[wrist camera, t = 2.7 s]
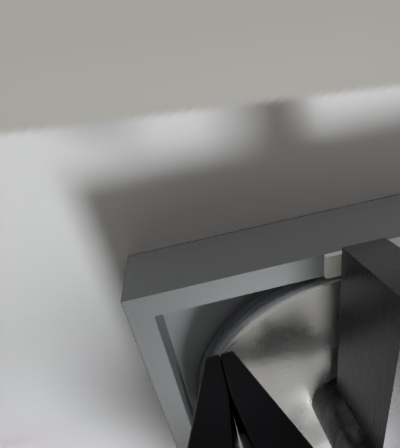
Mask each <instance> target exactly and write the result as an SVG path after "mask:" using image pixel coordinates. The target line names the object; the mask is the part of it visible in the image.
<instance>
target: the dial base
mask: <svg viewBox="0 0 400 448" xmlns="http://www.w3.org/2000/svg"><path fill="white" fill-rule="evenodd" d="M380 238H386V239H388V240H389V241H391V242H392V243H394V244H395V245H397V246H399V247H400V194H399V195H394V196H390V197H386V198H381V199H377V200H373V201H368V202H364V203H359V204H355V205H351V206H346V207H342V208H337V209H333V210H329V211H324V212H320V213H316V214H311V215H307V216H302V217H298V218H294V219H289V220H285V221H281V222H276V223H272V224H267V225H263V226H259V227H254V228H250V229H245V230H241V231H237V232H232V233H228V234H224V235H219V236H215V237H210V238H206V239H202V240H197V241H193V242H189V243H184V244H180V245H175V246H171V247H167V248H162V249H158V250H153V251H149V252H145V253H140V254H136V255H132V256H128V262H127V268H126V274H125V280H124V286H123V292H122V298H121V304H122V307H123V309H124V312H125V315H126V317H127V320H128V322H129V325H130V328H131V330H132V333H133V335H134V338H135V340H136V343H137V346H138V348H139V351H140V353H141V356H142V358H143V361H144V364H145V366H146V369H147V371H148V374H149V377H150V379H151V382H152V384H153V387H154V389H155V392H156V395H157V397H158V400H159V402H160V405H161V407H162V410H163V413H164V415H165V418H166V420H167V423H168V426H169V428H170V431H171V433H172V436H173V438H174V441H175V444H176V446H177V448H187V446H188V441H189V436H190V432H191V427H192V422H193V417H194V413H195V408H196V403H197V398H198V394H197V381H198V375H199V370H200V365H201V363H202V360H203V358H204V355H205V352H206V350H207V349H208V347H209V345H210V343H211V342H212V340H213V338H214V337H215V335H216V334H217V333H218V331H219V330H220V329H221V327H222V326H223V325H224V323H225V322H226V321H227V320H228V319H229V318H230V317H231V316H232V315H233V314H234V313H235V312H236V311H237V310H238V309H239V308H240V307H241V306H243V305H244V304H245V303H246V302H247V301H249V300H250V299H251V298H252V297H253V296H255V295H256V294H258V293H259V292H261V291H263V290H267V289H271V288H275V287H280V286H284V285H288V284H292V283H296V282H301V281H305V280H309V279H313V278H317V277H321V276H324V277H325V278H326V279H328V278H332V277H337V276H341V264H342V247H346V246H351V245H355V244H359V243H363V242H368V241H372V240H376V239H380Z"/></svg>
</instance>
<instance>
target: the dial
mask: <svg viewBox="0 0 400 448" xmlns="http://www.w3.org/2000/svg"><path fill="white" fill-rule="evenodd" d="M229 351H233V352H234V353H235V354H236V355H237V356H238V358H239V359H240V360H241V361H242V362H243V364H244V365H245V366H246V367H247V368H248V370H249V371H250V372H251V373H252V374H253V376H254V377H255V378H256V379H257V380H258V382H259V383H260V384H261V385H262V386H263V388H264V389H265V390H266V391H267V392H268V394H269V395H270V396H271V397H272V398H273V400H274V401H275V402H276V403H277V404H278V406H279V407H280V408H281V409H282V410H283V412H284V413H285V414H286V415H287V416H288V418H289V419H290V420H291V421H292V422H293V424H294V425H295V426H296V427H297V428H298V430H299V431H300V432H301V433H302V434H303V436H304V437H305V438H306V439H307V440H308V442H309V443H310V444H311V445H312V446H313V448H400V247H399V246H397V245H395V244H394V243H392V242H391V241H389V240H388V239H386V238H380V239H376V240H372V241H368V242H363V243H359V244H355V245H351V246H346V247H342V264H341V276H337V277H332V278H328V279H326V278H325V277H324V276H321V277H317V278H313V279H309V280H305V281H301V282H296V283H292V284H288V285H284V286H280V287H275V288H271V289H267V290H263V291H261V292H259V293H258V294H256V295H255V296H253V297H252V298H251V299H250V300H249V301H247V302H246V303H245V304H244V305H243V306H241V307H240V308H239V309H238V310H237V311H236V312H235V313H234V314H233V315H232V316H231V317H230V318H229V319H228V320H227V321H226V322H225V323H224V325H223V326H222V327H221V329H220V330H219V331H218V333H217V334H216V335H215V337H214V338H213V340H212V342H211V343H210V345H209V347H208V349H207V350H206V352H205V355H204V358H203V360H202V363H201V365H200V370H199V375H198V381H197V394H199V389H200V384H201V379H202V375H203V370H204V365H205V360H206V358H207V357H209V356H213V355H219V356H220V355H221V354H222V353H225V352H229ZM220 359H221V358H220ZM235 424H236V423H235ZM236 429H237V427H236ZM237 433H238V431H237ZM238 440H239V447H240V448H243V447H242V444H241V441H240V438H239V434H238Z"/></svg>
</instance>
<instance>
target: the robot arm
mask: <svg viewBox="0 0 400 448" xmlns="http://www.w3.org/2000/svg"><path fill="white" fill-rule="evenodd" d="M220 358H221V359H220ZM235 423H236V424H235ZM236 427H237V429H236ZM237 431H238V433H237ZM238 434H239V438H240V441H241V444H242V447H243V448H313V446H312V445H311V444H310V443H309V442H308V440H307V439H306V438H305V437H304V436H303V434H302V433H301V432H300V431H299V430H298V428H297V427H296V426H295V425H294V424H293V422H292V421H291V420H290V419H289V418H288V416H287V415H286V414H285V413H284V412H283V410H282V409H281V408H280V407H279V406H278V404H277V403H276V402H275V401H274V400H273V398H272V397H271V396H270V395H269V394H268V392H267V391H266V390H265V389H264V388H263V386H262V385H261V384H260V383H259V382H258V380H257V379H256V378H255V377H254V376H253V374H252V373H251V372H250V371H249V370H248V368H247V367H246V366H245V365H244V364H243V362H242V361H241V360H240V359H239V358H238V356H237V355H236V354H235V353H234V352H233V351H229V352H225V353H222V354H221V355H220V356H219V355H213V356H209V357H207V358H206V360H205V365H204V370H203V375H202V379H201V384H200V389H199V394H198V398H197V403H196V408H195V413H194V417H193V422H192V427H191V432H190V436H189V441H188V446H187V448H240V447H239V440H238Z"/></svg>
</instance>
